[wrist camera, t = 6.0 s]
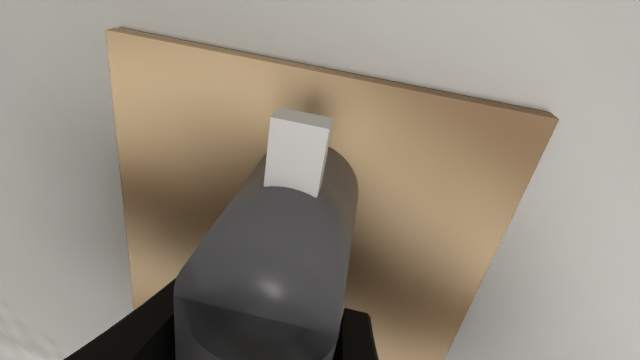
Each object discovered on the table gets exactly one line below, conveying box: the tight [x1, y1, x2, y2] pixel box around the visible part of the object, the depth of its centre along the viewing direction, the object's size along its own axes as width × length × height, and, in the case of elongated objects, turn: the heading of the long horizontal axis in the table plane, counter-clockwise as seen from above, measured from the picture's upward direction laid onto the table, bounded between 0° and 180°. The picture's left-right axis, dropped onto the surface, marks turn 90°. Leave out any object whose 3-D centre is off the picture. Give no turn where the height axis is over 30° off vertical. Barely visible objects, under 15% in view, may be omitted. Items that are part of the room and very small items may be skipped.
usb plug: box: [173, 107, 359, 360], centre depth 10 cm, size 9×3×5 cm, turn 171°
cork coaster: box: [106, 28, 559, 360], centre depth 13 cm, size 12×12×1 cm
